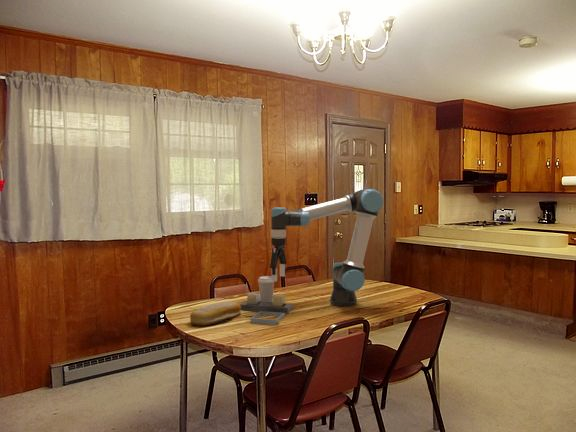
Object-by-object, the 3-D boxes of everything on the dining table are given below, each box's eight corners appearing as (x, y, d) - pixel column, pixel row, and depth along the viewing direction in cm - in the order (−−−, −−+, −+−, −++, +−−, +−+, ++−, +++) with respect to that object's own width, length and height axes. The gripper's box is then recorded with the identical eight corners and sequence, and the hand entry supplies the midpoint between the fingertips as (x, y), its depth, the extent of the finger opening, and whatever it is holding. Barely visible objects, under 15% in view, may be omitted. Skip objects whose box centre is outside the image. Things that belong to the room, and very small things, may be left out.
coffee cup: (272, 306, 239) (272, 279, 238) (255, 305, 241) (255, 278, 240) (276, 302, 249) (276, 276, 248) (260, 301, 250) (260, 275, 250)
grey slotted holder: (292, 311, 230) (292, 303, 230) (287, 315, 221) (287, 307, 221) (246, 307, 237) (246, 300, 237) (239, 312, 228) (239, 304, 228)
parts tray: (284, 317, 217) (284, 313, 217) (276, 325, 205) (276, 320, 205) (259, 315, 221) (259, 311, 221) (250, 323, 209) (250, 318, 208)
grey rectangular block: (259, 308, 233) (259, 293, 232) (256, 310, 228) (256, 295, 227) (250, 307, 234) (250, 292, 234) (247, 309, 229) (247, 294, 229)
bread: (246, 317, 220) (246, 301, 219) (204, 329, 200) (204, 312, 199) (228, 312, 228) (227, 297, 228) (186, 324, 208) (186, 307, 208)
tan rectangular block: (285, 309, 229) (285, 294, 228) (282, 312, 224) (282, 296, 224) (275, 309, 230) (275, 294, 230) (272, 311, 225) (272, 296, 225)
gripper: (278, 235, 238) (278, 274, 239) (263, 239, 214) (263, 282, 215) (292, 235, 236) (291, 274, 237) (278, 240, 212) (278, 283, 213)
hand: (278, 278), depth 226 cm, fingers open, 13 cm apart
